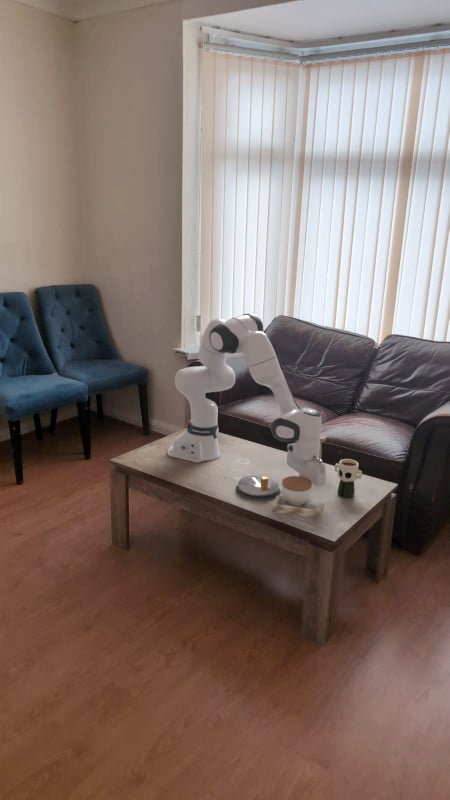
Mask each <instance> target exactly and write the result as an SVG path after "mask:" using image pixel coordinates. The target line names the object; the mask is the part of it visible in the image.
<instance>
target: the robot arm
mask: <svg viewBox="0 0 450 800" xmlns="http://www.w3.org/2000/svg"><path fill="white" fill-rule="evenodd" d="M237 351H239V352H241V353H242V355H243V356H244V359H245V362H246V366H247V369H248V371H249V373H250V376H251V377H252V379H253V380H254V382H255V383H257V384H259V385H260V386H264V387H267V388H269V389H270V390H271V391H272V393H273V395H274V397H275V399H276V402H277V404H278V407H279V410H280V411H279V415H278V416H277V417H276V418H275V419H274V420H273V421H272V423H271V425H270V431H271V434H272V436H273V438H274V439H276V440H278V441H280V442H287V443H288V444H287V452H286V464H287V466H288V467H289V468H290V469H292V470H294V471H295V472H297V473H298V476H300V477H304V478H307V479H309V480H310V481H311V482H312V484H315V485H316V486H320V485H324V484H325V483H326V480H327V479H326V478H327V475H326V473H327V472H326V471H327V470H326V466H325V464H324V462H323V460H322V458H321V459H319V451H320V441H319V439H320V436H321V435H322V416H321V413H320V412H319V411H318V410H316V409H314V408H312V407H302V408H301V407H300V406H299V405H298V403H297V402H296V400H295V397H294V395H293V393H292V390H291V388H290V386H289V384H288V381H287V379H286V377H285V375H284V373H283V371H282V368H281V366H280V362H279V359H278V357H277V354H276V351H275V349H274V347H273V344H272V343H271V340H270V339H269V337H268V336H267V334H266V333H265V332H264V324H263V321H262V320H261V318H260V317H259V316H258V315H257V314H255V313H253V312H251V313H243V314H242V315H238V316H235V317H232V318H230V319H228V320H225V319H223V318H214V319H212V320H210V321H209V322H208V324H207V325H206V328H205V329H204V332H203V334H202V339H201V342H200V345H199V350H198V353H197V356H198V360H199V362H200V363H201V364H202V365H200V366H187V367H185V368H181V369H179V370H178V371H176V374H175V377H174V384H175V388H176V389H177V391H179V393H180V394H182V395H183V396H185V397H186V399H187V401H188V403H189V405H190V414H191V415H190V416H191V417H190V420H188V423H186V425H185V429H186V430H185V431H183V432H181V433H180V434H179V435H177V436H176V437H175V438H174V440H173V444H172V445H171V446H170V447H169V448H168V449H167V457H173V458H176V459H179V460H183V461H188V462H193V463H202V462H205V461H206V462H207V461H208V462H209V461H213V460H215V459H218V458H219V457H220V456H221V452H220V448H219V442H218V438H219V437H218V436H219V423H218V413H219V412H218V411H219V409H218V405H217V404H216V402H215V401H212V400H211V399H208V398H207V397H206V393H213V392H214V393H217V392H222V391H227V390H229V389H232V387H234V385H235V383H236V373H235V370H234V369H233V368H232V367H231V366H229V364H227V355H228V353H229V354H236V352H237ZM289 442H291V443H289ZM293 442H294V443H293Z"/></svg>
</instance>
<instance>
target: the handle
mask: <svg viewBox="0 0 450 800" xmlns="http://www.w3.org/2000/svg"><path fill="white" fill-rule="evenodd" d="M326 440H327V436H326V435H325V434H324V435H323V434H321V436H320V439H319V441H320V451H319V459H321V460H322V447H323V446H322V445H323V444H322V443H324V442H325V441H326Z"/></svg>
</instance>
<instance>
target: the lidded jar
mask: <svg viewBox="0 0 450 800" xmlns="http://www.w3.org/2000/svg"><path fill="white" fill-rule="evenodd" d="M312 487H313V482H312V481H310V480H309V479H307V478H304V477H300V476H299V475H291V476H287V477H285V478H283V479H282V481H281V493H282V495H283V498H284V499H285V501H286V502H287V503H288V504H289V505H291V506H292V505H293V506H301V505H303V504H304V503H305V502H307V501H308V499H309V498H310V496H311V493H312V492H311V491H312Z"/></svg>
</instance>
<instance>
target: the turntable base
mask: <svg viewBox="0 0 450 800" xmlns="http://www.w3.org/2000/svg"><path fill="white" fill-rule="evenodd" d="M235 493H236V494H237V495H238V496H240V497H241V498H244V499H245V500H246V499H247V500H250V501H256V502H257V501H260V502H262V501H264V502H265V501H272V500H275V499H276V497H277V496H281V493H282V489H281V488H280V487H279V486H278V492H277V493H276V494H275V495H273V496H271V497H266V498H255V497H250V496H246V495H244V494H242V493H241V492H240V491H239V490H238V484H236V486H235Z"/></svg>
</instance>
